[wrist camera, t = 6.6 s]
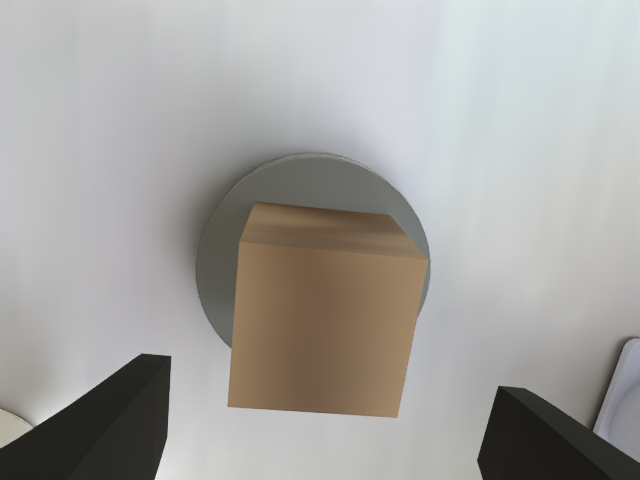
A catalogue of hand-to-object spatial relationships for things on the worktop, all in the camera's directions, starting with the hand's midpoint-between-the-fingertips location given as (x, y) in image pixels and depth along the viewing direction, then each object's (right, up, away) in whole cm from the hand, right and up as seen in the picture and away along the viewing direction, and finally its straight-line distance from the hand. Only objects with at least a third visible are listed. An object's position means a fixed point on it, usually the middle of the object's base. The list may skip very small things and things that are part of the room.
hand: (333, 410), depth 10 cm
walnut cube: (0, +3, +7) cm, 8 cm away
